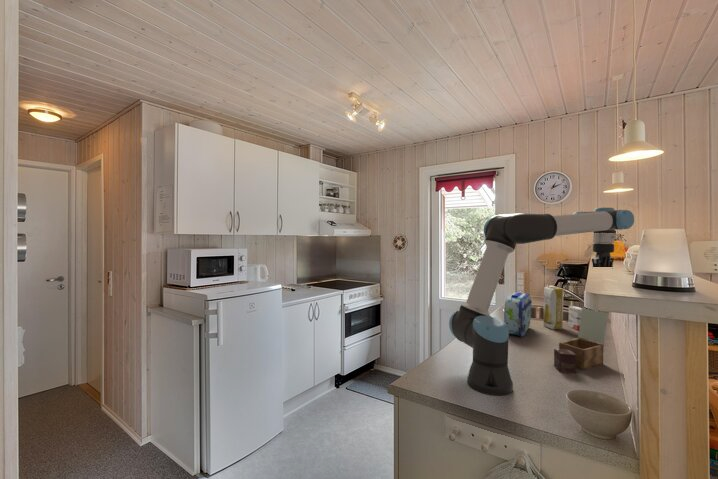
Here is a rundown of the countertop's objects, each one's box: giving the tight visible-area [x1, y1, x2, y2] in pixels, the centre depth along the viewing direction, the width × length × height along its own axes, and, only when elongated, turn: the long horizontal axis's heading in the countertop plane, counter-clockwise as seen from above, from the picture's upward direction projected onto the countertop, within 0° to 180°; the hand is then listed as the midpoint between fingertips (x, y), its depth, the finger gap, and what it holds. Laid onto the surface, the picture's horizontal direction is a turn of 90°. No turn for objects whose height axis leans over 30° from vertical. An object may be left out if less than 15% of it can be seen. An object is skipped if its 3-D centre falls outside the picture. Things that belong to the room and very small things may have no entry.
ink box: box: [567, 305, 582, 331], centre depth 190 cm, size 9×5×12 cm, turn 179°
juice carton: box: [543, 285, 565, 330], centre depth 191 cm, size 9×8×24 cm
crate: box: [558, 337, 605, 371], centre depth 140 cm, size 14×10×8 cm
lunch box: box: [503, 292, 532, 338], centre depth 183 cm, size 26×11×21 cm, turn 144°
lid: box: [578, 306, 609, 345], centre depth 144 cm, size 14×10×1 cm
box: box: [553, 348, 577, 374], centre depth 133 cm, size 6×6×7 cm
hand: (602, 296), depth 146 cm, fingers open, 3 cm apart
